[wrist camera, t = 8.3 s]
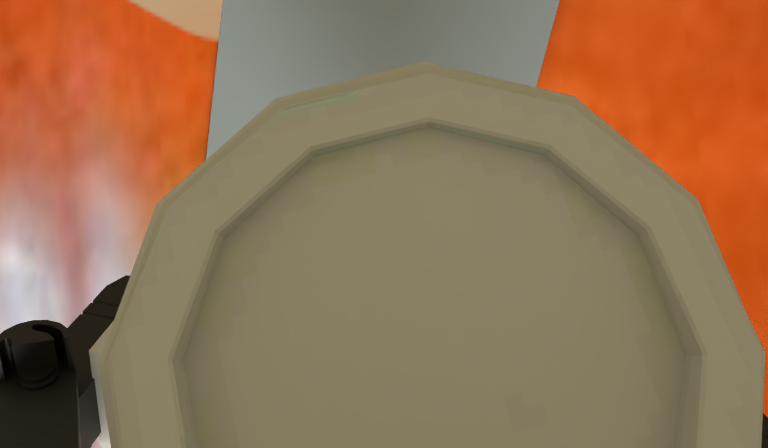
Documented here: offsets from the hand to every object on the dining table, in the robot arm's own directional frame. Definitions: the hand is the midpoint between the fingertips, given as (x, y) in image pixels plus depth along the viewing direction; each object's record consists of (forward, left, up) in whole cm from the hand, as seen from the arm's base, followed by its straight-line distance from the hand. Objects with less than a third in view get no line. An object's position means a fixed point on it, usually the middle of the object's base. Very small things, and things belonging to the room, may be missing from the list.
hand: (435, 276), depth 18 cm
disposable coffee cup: (0, +6, -4) cm, 7 cm away
